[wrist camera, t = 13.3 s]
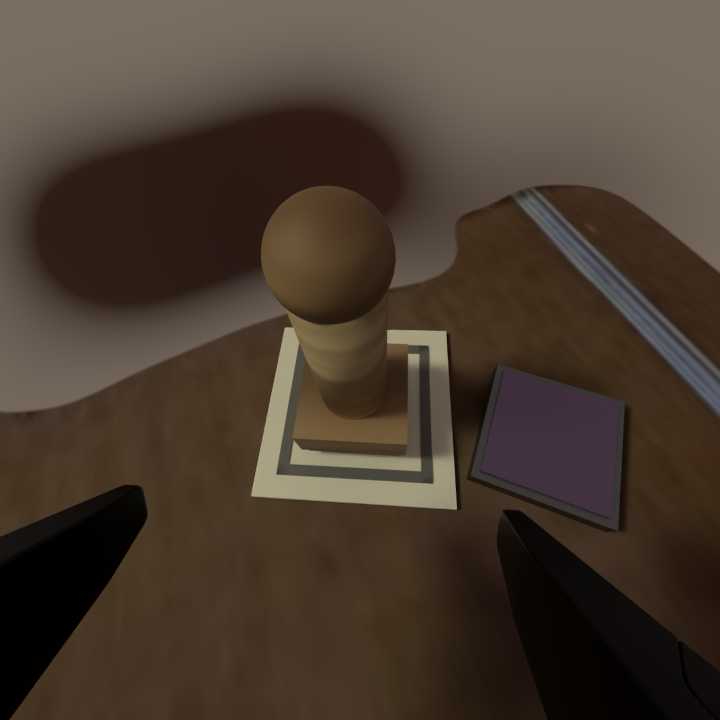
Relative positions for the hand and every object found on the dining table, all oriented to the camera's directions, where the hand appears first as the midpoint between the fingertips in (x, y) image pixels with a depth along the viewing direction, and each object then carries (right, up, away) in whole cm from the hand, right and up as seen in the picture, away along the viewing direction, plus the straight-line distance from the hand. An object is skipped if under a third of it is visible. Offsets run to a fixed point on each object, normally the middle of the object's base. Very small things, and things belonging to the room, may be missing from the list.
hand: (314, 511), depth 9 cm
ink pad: (+12, -1, +11) cm, 16 cm away
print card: (+1, +1, +13) cm, 13 cm away
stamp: (+1, +1, +12) cm, 12 cm away
